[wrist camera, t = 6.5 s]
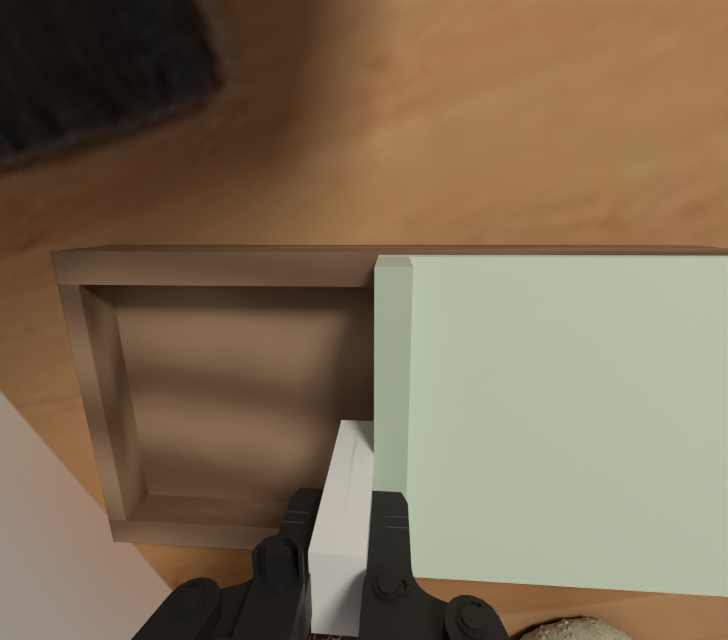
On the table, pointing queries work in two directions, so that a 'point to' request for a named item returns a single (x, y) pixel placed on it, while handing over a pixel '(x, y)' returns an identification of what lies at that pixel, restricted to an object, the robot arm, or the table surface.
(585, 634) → the sea urchin shell
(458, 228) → the table surface
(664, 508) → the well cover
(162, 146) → the table surface
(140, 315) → the brown wooden shallow box
